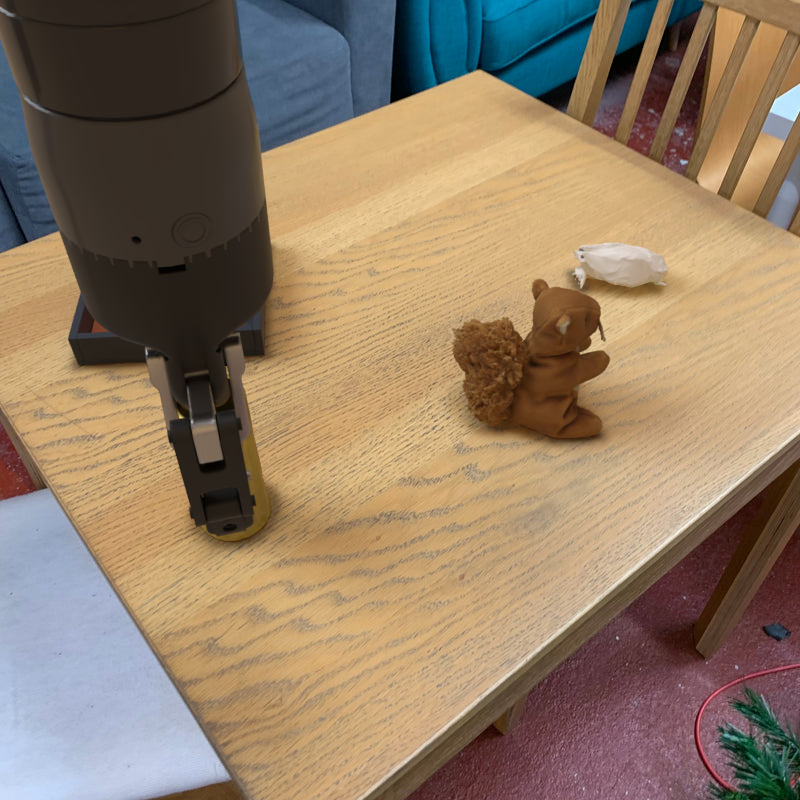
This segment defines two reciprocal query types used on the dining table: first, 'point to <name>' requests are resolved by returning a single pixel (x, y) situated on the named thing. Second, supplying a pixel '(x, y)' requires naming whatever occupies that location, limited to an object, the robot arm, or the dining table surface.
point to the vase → (252, 463)
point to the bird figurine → (620, 264)
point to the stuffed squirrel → (534, 365)
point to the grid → (107, 348)
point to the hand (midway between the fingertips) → (220, 457)
